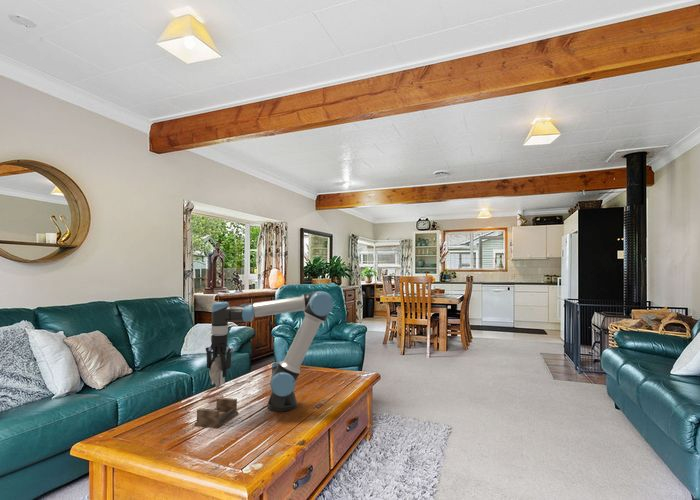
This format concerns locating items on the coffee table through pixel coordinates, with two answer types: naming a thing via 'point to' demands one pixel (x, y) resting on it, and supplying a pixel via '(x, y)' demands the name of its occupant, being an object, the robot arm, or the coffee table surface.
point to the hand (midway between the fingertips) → (218, 383)
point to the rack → (217, 413)
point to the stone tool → (216, 371)
